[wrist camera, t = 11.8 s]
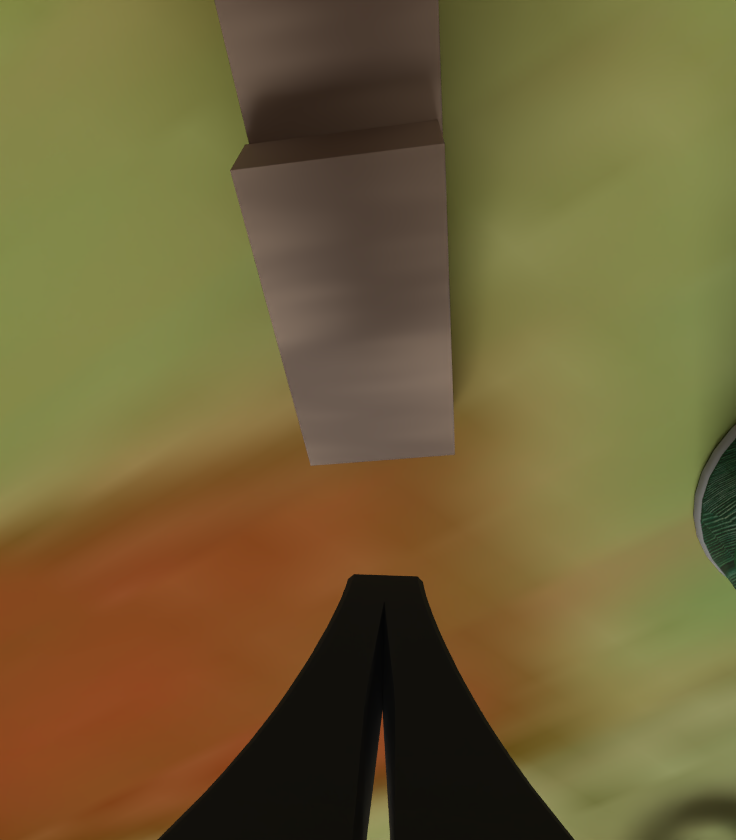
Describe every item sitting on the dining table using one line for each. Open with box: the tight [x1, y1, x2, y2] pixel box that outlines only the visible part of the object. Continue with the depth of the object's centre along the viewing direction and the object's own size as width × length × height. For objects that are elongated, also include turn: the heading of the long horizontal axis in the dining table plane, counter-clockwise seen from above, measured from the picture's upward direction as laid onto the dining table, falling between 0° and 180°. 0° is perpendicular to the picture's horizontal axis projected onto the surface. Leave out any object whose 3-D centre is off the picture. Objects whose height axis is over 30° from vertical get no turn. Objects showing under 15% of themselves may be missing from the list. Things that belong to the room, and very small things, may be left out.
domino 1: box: [215, 0, 443, 144], centre depth 12 cm, size 4×2×8 cm
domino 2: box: [230, 120, 455, 465], centre depth 14 cm, size 4×2×8 cm
